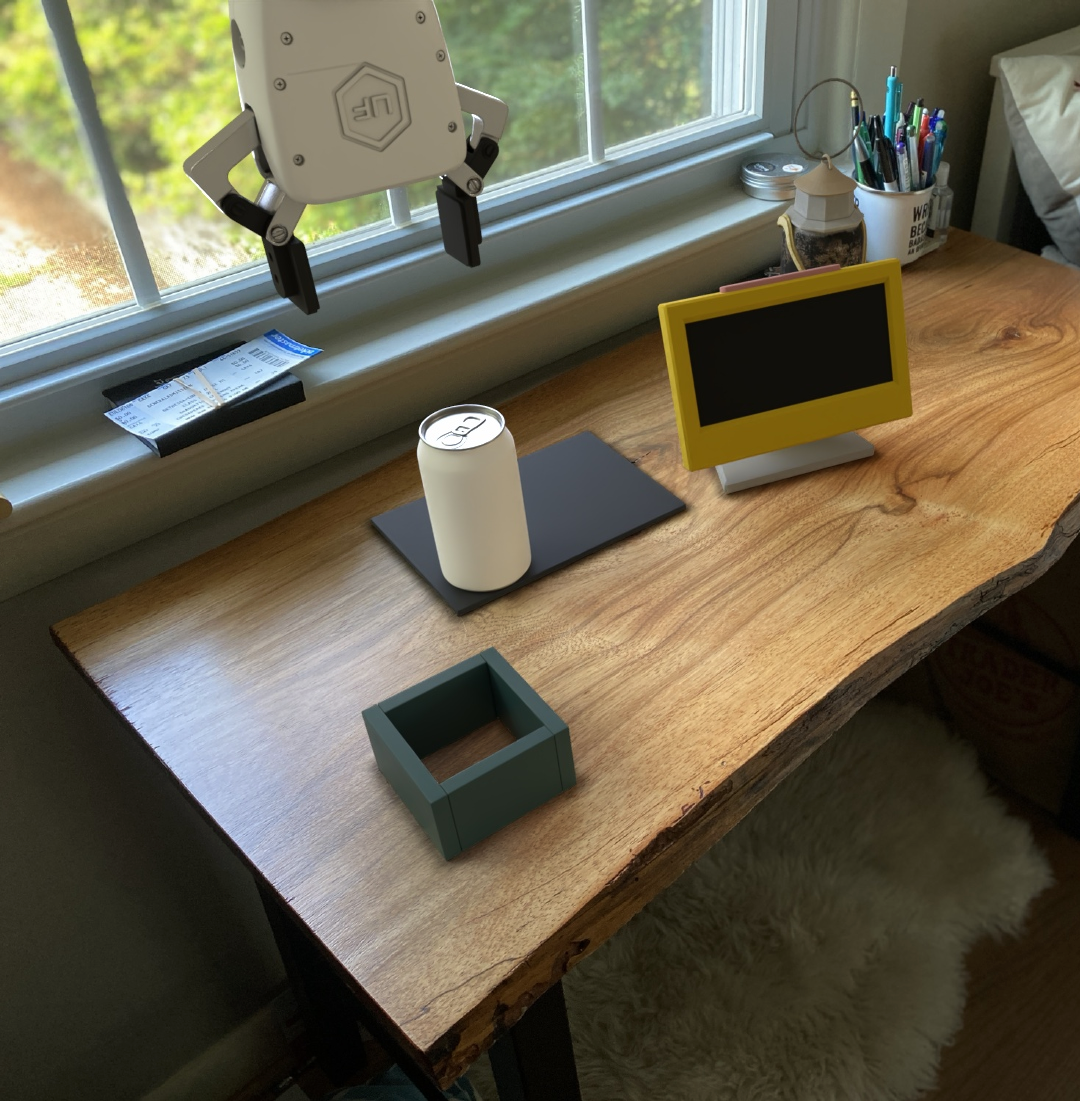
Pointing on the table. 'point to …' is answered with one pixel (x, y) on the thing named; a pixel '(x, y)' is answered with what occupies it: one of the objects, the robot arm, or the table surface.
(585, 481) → the mat
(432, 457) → the can
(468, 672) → the box
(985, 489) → the table surface
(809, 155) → the lantern
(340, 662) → the table surface
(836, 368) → the yellow framed monitor
